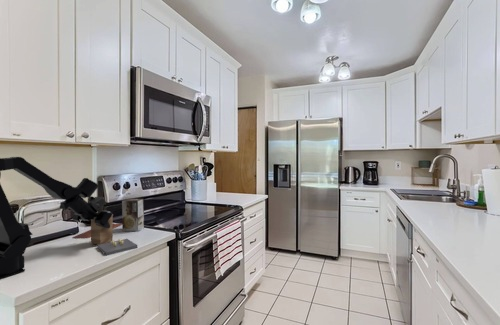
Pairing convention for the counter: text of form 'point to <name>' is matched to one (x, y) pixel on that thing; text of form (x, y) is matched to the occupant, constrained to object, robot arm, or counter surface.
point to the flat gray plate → (116, 246)
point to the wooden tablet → (88, 233)
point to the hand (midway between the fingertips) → (104, 226)
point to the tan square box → (101, 232)
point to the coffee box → (132, 214)
